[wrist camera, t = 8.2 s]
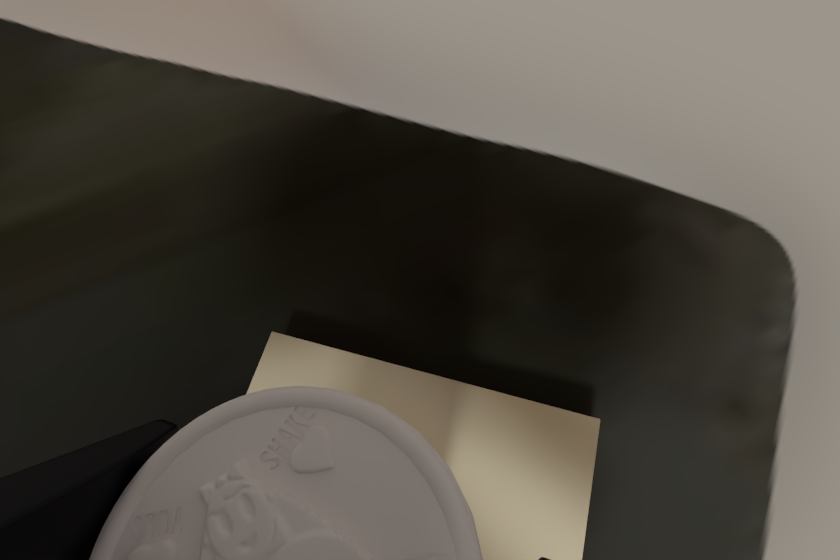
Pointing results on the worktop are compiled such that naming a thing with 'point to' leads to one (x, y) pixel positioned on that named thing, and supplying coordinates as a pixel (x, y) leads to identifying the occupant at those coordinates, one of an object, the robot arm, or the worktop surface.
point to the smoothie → (292, 487)
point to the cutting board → (470, 444)
